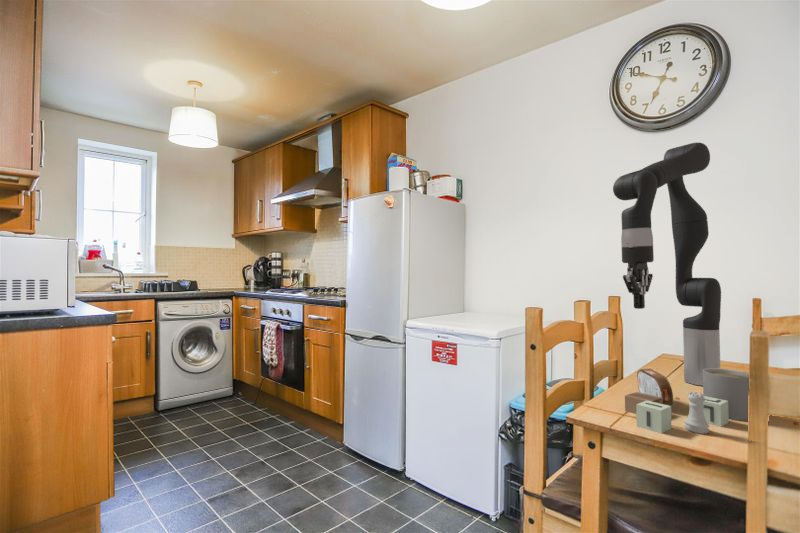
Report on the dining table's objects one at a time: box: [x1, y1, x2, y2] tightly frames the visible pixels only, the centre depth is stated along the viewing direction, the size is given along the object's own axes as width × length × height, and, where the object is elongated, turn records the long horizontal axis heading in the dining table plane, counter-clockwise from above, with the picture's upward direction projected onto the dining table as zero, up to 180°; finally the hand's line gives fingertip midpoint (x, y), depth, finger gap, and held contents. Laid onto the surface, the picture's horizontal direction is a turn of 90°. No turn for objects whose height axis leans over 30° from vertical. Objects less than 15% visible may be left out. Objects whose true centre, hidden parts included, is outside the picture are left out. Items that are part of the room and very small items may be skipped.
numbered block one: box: [636, 401, 672, 434], centre depth 89 cm, size 5×5×5 cm
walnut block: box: [624, 391, 663, 415], centre depth 99 cm, size 6×6×4 cm
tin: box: [636, 368, 674, 407], centre depth 106 cm, size 15×3×8 cm, turn 171°
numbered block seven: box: [703, 396, 730, 428], centre depth 93 cm, size 5×5×5 cm
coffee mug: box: [702, 367, 750, 422], centre depth 99 cm, size 13×10×10 cm
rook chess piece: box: [684, 391, 711, 435], centre depth 87 cm, size 4×4×8 cm
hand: (639, 308), depth 110 cm, fingers closed
